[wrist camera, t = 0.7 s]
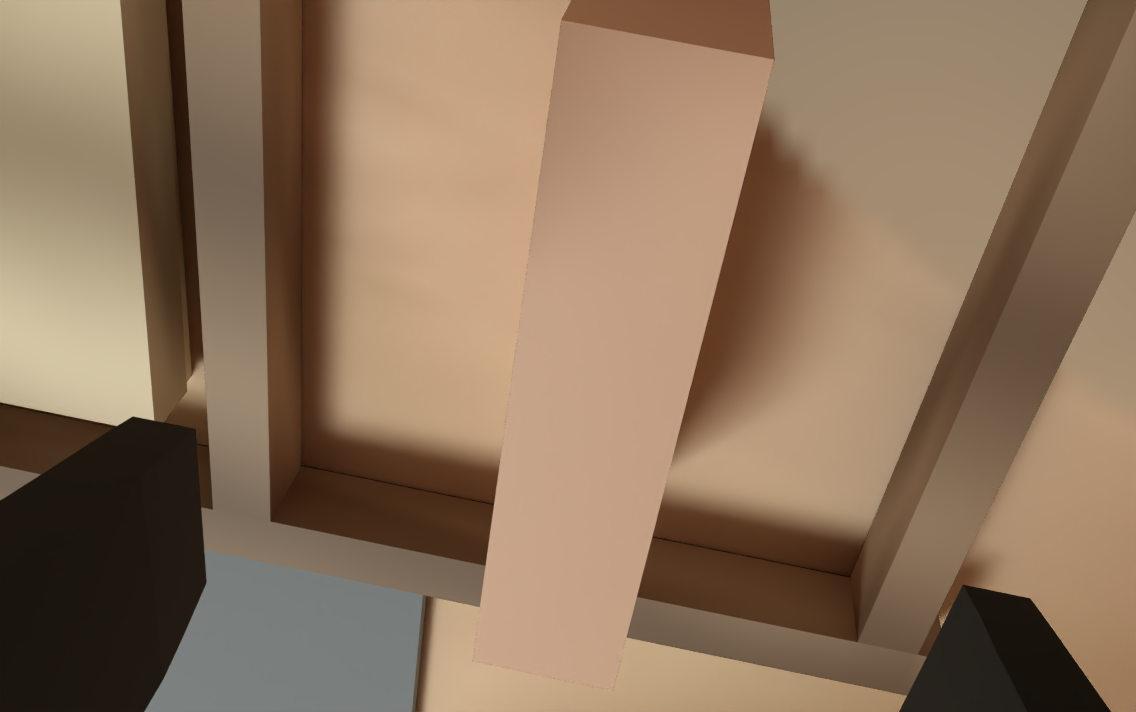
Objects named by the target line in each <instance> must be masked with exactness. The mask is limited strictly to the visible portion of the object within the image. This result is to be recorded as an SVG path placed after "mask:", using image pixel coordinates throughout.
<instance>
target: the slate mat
mask: <svg viewBox="0 0 1136 712" xmlns="http://www.w3.org/2000/svg"><path fill="white" fill-rule="evenodd" d="M204 552H205V566H206V579H207V583H206V586H205V588H204V590H203V593H202V595H201V597H200V599H199V602H198V604H197V606H196V609H195V611H194V613H193V616H192V618H191V620H190V622H189V625H188V627H187V629H186V632H185V634H184V636H183V638H182V641H181V643H180V645H179V647H178V649H177V651H176V653H175V656H174V658H173V660H172V662H171V664H170V666H169V669H168V671H167V673H166V675H165V677H164V679H163V681H162V683H161V684H160V686H159V688H158V689H157V691H156V693H155V695H154V696H153V698H152V700H151V701H150V703H149V705H148V706H147V708H146V710H145V711H144V712H415V710H416V700H417V690H418V679H419V669H420V659H421V648H422V638H423V628H424V617H425V607H426V597H427V596H425V595H420V594H415V593H410V592H405V591H401V590H396V589H391V588H386V587H381V586H376V585H372V584H367V583H362V582H357V581H352V580H348V579H343V578H338V577H333V576H328V575H323V574H319V573H314V572H309V571H304V570H299V569H294V568H290V567H285V566H280V565H275V564H270V563H266V562H261V561H256V560H251V559H246V558H241V557H237V556H232V555H227V554H222V553H217V552H212V551H208V550H204Z"/></svg>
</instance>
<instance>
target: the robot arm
mask: <svg viewBox="0 0 1136 712" xmlns="http://www.w3.org/2000/svg"><path fill="white" fill-rule="evenodd" d="M206 583H207V579H206V566H205V552H204V538H203V524H202V510H201V497H200V483H199V469H198V455H197V441H196V429H193V428H188V427H183V426H178V425H173V424H168V423H163V422H158V421H153V420H149V419H144V418H139V417H134V416H133V417H131V418H129V419H128V420H126V421H124V422H123V423H121V424H120V425H118V426H116V427H115V428H113V429H111V430H110V431H108V432H107V433H105V434H103V435H102V436H100V437H99V438H97V439H96V440H94V441H92V442H91V443H89V444H88V445H86V446H85V447H83V448H82V449H80V450H78V451H77V452H75V453H74V454H72V455H71V456H69V457H67V458H66V459H64V460H63V461H61V462H60V463H58V464H57V465H55V466H53V467H52V468H50V469H49V470H47V471H46V472H44V473H43V474H41V475H39V476H38V477H36V478H35V479H33V480H32V481H30V482H28V483H27V484H25V485H24V486H22V487H21V488H19V489H17V490H16V491H14V492H13V493H11V494H10V495H8V496H6V497H5V498H3V499H2V500H0V712H144V711H145V710H146V708H147V706H148V705H149V703H150V701H151V700H152V698H153V696H154V695H155V693H156V691H157V689H158V688H159V686H160V684H161V683H162V681H163V679H164V677H165V675H166V673H167V671H168V669H169V666H170V664H171V662H172V660H173V658H174V656H175V653H176V651H177V649H178V647H179V645H180V643H181V641H182V638H183V636H184V634H185V632H186V629H187V627H188V625H189V622H190V620H191V618H192V616H193V613H194V611H195V609H196V606H197V604H198V602H199V599H200V597H201V595H202V593H203V590H204V588H205V586H206ZM899 712H1111V711H1110V710H1109V708H1108V707H1107V706H1106V704H1105V703H1104V701H1103V700H1102V698H1101V697H1100V696H1099V694H1098V693H1097V691H1096V690H1095V689H1094V687H1093V686H1092V684H1091V683H1090V681H1089V680H1088V679H1087V677H1086V676H1085V674H1084V673H1083V672H1082V670H1081V669H1080V667H1079V666H1078V664H1077V663H1076V662H1075V660H1074V659H1073V657H1072V656H1071V654H1070V653H1069V652H1068V650H1067V649H1066V647H1065V646H1064V644H1063V643H1062V642H1061V640H1060V639H1059V637H1058V636H1057V635H1056V633H1055V632H1054V630H1053V629H1052V628H1051V626H1050V625H1049V623H1048V622H1047V621H1046V619H1045V618H1044V617H1043V615H1042V614H1041V612H1040V611H1039V610H1038V608H1037V607H1036V606H1035V604H1034V603H1033V602H1032V600H1031V599H1030V598H1025V597H1020V596H1015V595H1010V594H1006V593H1001V592H996V591H991V590H986V589H981V588H976V587H971V586H966V585H963V586H962V588H961V590H960V592H959V594H958V596H957V598H956V600H955V602H954V604H953V606H952V608H951V610H950V612H949V614H948V616H947V618H946V620H945V622H944V624H943V626H942V628H941V630H940V632H939V634H938V636H937V638H936V640H935V642H934V644H933V646H932V648H931V650H930V652H929V654H928V656H927V658H926V660H925V662H924V664H923V666H922V668H921V670H920V672H919V673H918V675H917V677H916V679H915V681H914V683H913V685H912V687H911V689H910V691H909V693H908V695H907V697H906V699H905V701H904V703H903V705H902V707H901V709H900V711H899Z"/></svg>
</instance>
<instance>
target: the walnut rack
mask: <svg viewBox="0 0 1136 712" xmlns="http://www.w3.org/2000/svg"><path fill="white" fill-rule="evenodd" d="M182 11H183V27H184V43H185V60H186V76H187V92H188V109H189V125H190V141H191V158H192V174H193V190H194V207H195V223H196V239H197V256H198V272H199V288H200V305H201V321H202V337H203V354H204V370H205V386H206V403H207V419H208V435H209V447H206V446H201V445H197V455H198V469H199V483H200V497H201V510H202V524H203V538H204V550H208V551H212V552H217V553H222V554H227V555H232V556H237V557H241V558H246V559H251V560H256V561H261V562H266V563H270V564H275V565H280V566H285V567H290V568H294V569H299V570H304V571H309V572H314V573H319V574H323V575H328V576H333V577H338V578H343V579H348V580H352V581H357V582H362V583H367V584H372V585H376V586H381V587H386V588H391V589H396V590H401V591H405V592H410V593H415V594H420V595H425V596H430V597H434V598H439V599H444V600H449V601H454V602H458V603H463V604H468V605H473V606H478V607H480V603H481V595H482V588H483V581H484V574H485V567H486V559H487V552H488V545H489V538H490V531H491V523H492V516H493V509H494V505H491V504H486V503H481V502H476V501H471V500H466V499H461V498H456V497H451V496H447V495H442V494H437V493H432V492H427V491H422V490H417V489H412V488H407V487H402V486H397V485H392V484H388V483H383V482H378V481H373V480H368V479H363V478H358V477H353V476H348V475H343V474H338V473H334V472H329V471H324V470H319V469H314V468H309V467H304V466H301V352H302V0H182ZM1135 211H1136V0H1088V1H1087V4H1086V6H1085V9H1084V11H1083V13H1082V16H1081V18H1080V21H1079V23H1078V26H1077V28H1076V31H1075V33H1074V35H1073V38H1072V40H1071V42H1070V45H1069V47H1068V50H1067V52H1066V55H1065V57H1064V60H1063V62H1062V64H1061V67H1060V69H1059V72H1058V74H1057V77H1056V79H1055V81H1054V84H1053V86H1052V89H1051V91H1050V93H1049V96H1048V98H1047V101H1046V103H1045V106H1044V108H1043V111H1042V113H1041V116H1040V118H1039V120H1038V123H1037V125H1036V128H1035V130H1034V132H1033V135H1032V137H1031V140H1030V142H1029V144H1028V147H1027V149H1026V152H1025V154H1024V157H1023V159H1022V161H1021V164H1020V166H1019V169H1018V171H1017V174H1016V176H1015V178H1014V181H1013V183H1012V186H1011V188H1010V190H1009V193H1008V196H1007V198H1006V200H1005V203H1004V205H1003V208H1002V210H1001V212H1000V215H999V217H998V220H997V222H996V225H995V227H994V229H993V232H992V234H991V237H990V239H989V241H988V244H987V246H986V249H985V251H984V254H983V256H982V259H981V261H980V263H979V266H978V268H977V271H976V273H975V276H974V278H973V280H972V283H971V285H970V288H969V290H968V292H967V295H966V297H965V300H964V302H963V305H962V307H961V309H960V312H959V314H958V317H957V319H956V321H955V324H954V326H953V329H952V331H951V334H950V336H949V338H948V341H947V343H946V346H945V348H944V351H943V353H942V355H941V358H940V360H939V363H938V365H937V368H936V370H935V372H934V375H933V377H932V380H931V382H930V385H929V387H928V389H927V392H926V394H925V397H924V399H923V402H922V404H921V406H920V409H919V411H918V414H917V416H916V419H915V421H914V423H913V426H912V428H911V431H910V433H909V436H908V438H907V440H906V443H905V445H904V448H903V450H902V452H901V455H900V457H899V460H898V462H897V465H896V467H895V469H894V472H893V474H892V477H891V479H890V482H889V484H888V486H887V489H886V491H885V494H884V496H883V499H882V501H881V503H880V506H879V508H878V511H877V513H876V516H875V518H874V520H873V523H872V525H871V528H870V530H869V533H868V535H867V537H866V540H865V542H864V545H863V547H862V550H861V552H860V554H859V557H858V559H857V562H856V564H855V567H854V569H853V571H852V574H851V576H850V578H849V577H844V576H839V575H834V574H830V573H825V572H820V571H815V570H810V569H805V568H800V567H795V566H790V565H785V564H780V563H776V562H771V561H766V560H761V559H756V558H751V557H746V556H741V555H736V554H731V553H726V552H721V551H717V550H712V549H707V548H702V547H697V546H692V545H687V544H682V543H677V542H672V541H667V540H663V539H658V538H653V537H652V540H651V544H650V548H649V551H648V555H647V559H646V563H645V567H644V571H643V575H642V579H641V583H640V587H639V590H638V594H637V598H636V602H635V606H634V610H633V614H632V618H631V622H630V626H629V629H628V633H627V638H632V639H637V640H642V641H647V642H651V643H656V644H661V645H666V646H671V647H676V648H680V649H685V650H690V651H695V652H700V653H704V654H709V655H714V656H719V657H724V658H729V659H733V660H738V661H743V662H748V663H753V664H757V665H762V666H767V667H772V668H777V669H782V670H786V671H791V672H796V673H801V674H806V675H811V676H815V677H820V678H825V679H830V680H835V681H839V682H844V683H849V684H854V685H859V686H864V687H868V688H873V689H878V690H883V691H888V692H893V693H897V694H902V695H908V693H909V691H910V689H911V687H912V685H913V683H914V681H915V679H916V677H917V675H918V673H919V672H920V670H921V668H922V666H923V664H924V662H925V660H926V658H927V656H928V654H929V652H930V650H931V648H932V646H933V644H934V642H935V640H936V638H937V636H938V634H939V632H940V630H941V626H940V621H939V616H938V612H939V610H940V608H941V606H942V604H943V602H944V600H945V598H946V596H947V594H948V592H949V590H950V588H951V586H952V584H953V582H954V580H955V578H956V576H957V574H958V571H959V569H960V567H961V565H962V563H963V561H964V559H965V557H966V555H967V553H968V551H969V549H970V547H971V545H972V543H973V541H974V539H975V537H976V535H977V533H978V531H979V529H980V527H981V525H982V523H983V521H984V519H985V517H986V514H987V512H988V510H989V508H990V506H991V504H992V502H993V500H994V498H995V496H996V494H997V492H998V490H999V488H1000V486H1001V484H1002V482H1003V480H1004V478H1005V476H1006V474H1007V472H1008V470H1009V468H1010V466H1011V464H1012V462H1013V460H1014V457H1015V455H1016V453H1017V451H1018V449H1019V447H1020V445H1021V443H1022V441H1023V439H1024V437H1025V435H1026V433H1027V431H1028V429H1029V427H1030V425H1031V423H1032V421H1033V419H1034V417H1035V415H1036V413H1037V411H1038V409H1039V407H1040V405H1041V403H1042V400H1043V398H1044V396H1045V394H1046V392H1047V390H1048V388H1049V386H1050V384H1051V382H1052V380H1053V378H1054V376H1055V374H1056V372H1057V370H1058V368H1059V366H1060V364H1061V362H1062V360H1063V358H1064V356H1065V354H1066V352H1067V350H1068V348H1069V346H1070V343H1071V341H1072V339H1073V337H1074V335H1075V333H1076V331H1077V329H1078V327H1079V325H1080V323H1081V321H1082V319H1083V317H1084V315H1085V313H1086V311H1087V309H1088V307H1089V305H1090V303H1091V301H1092V299H1093V297H1094V295H1095V293H1096V290H1097V288H1098V286H1099V284H1100V282H1101V280H1102V278H1103V276H1104V274H1105V272H1106V270H1107V268H1108V266H1109V264H1110V262H1111V260H1112V258H1113V256H1114V254H1115V252H1116V250H1117V248H1118V246H1119V244H1120V242H1121V240H1122V238H1123V236H1124V234H1125V231H1126V229H1127V227H1128V225H1129V223H1130V221H1131V219H1132V217H1133V215H1134V213H1135ZM111 429H113V427H108V426H103V425H98V424H93V423H88V422H83V421H78V420H73V419H68V418H63V417H59V416H54V415H49V414H44V413H39V412H34V411H29V410H24V409H19V408H14V407H9V406H5V405H0V500H2V499H3V498H5V497H6V496H8V495H10V494H11V493H13V492H14V491H16V490H17V489H19V488H21V487H22V486H24V485H25V484H27V483H28V482H30V481H32V480H33V479H35V478H36V477H38V476H39V475H41V474H43V473H44V472H46V471H47V470H49V469H50V468H52V467H53V466H55V465H57V464H58V463H60V462H61V461H63V460H64V459H66V458H67V457H69V456H71V455H72V454H74V453H75V452H77V451H78V450H80V449H82V448H83V447H85V446H86V445H88V444H89V443H91V442H92V441H94V440H96V439H97V438H99V437H100V436H102V435H103V434H105V433H107V432H108V431H110V430H111Z"/></svg>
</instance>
